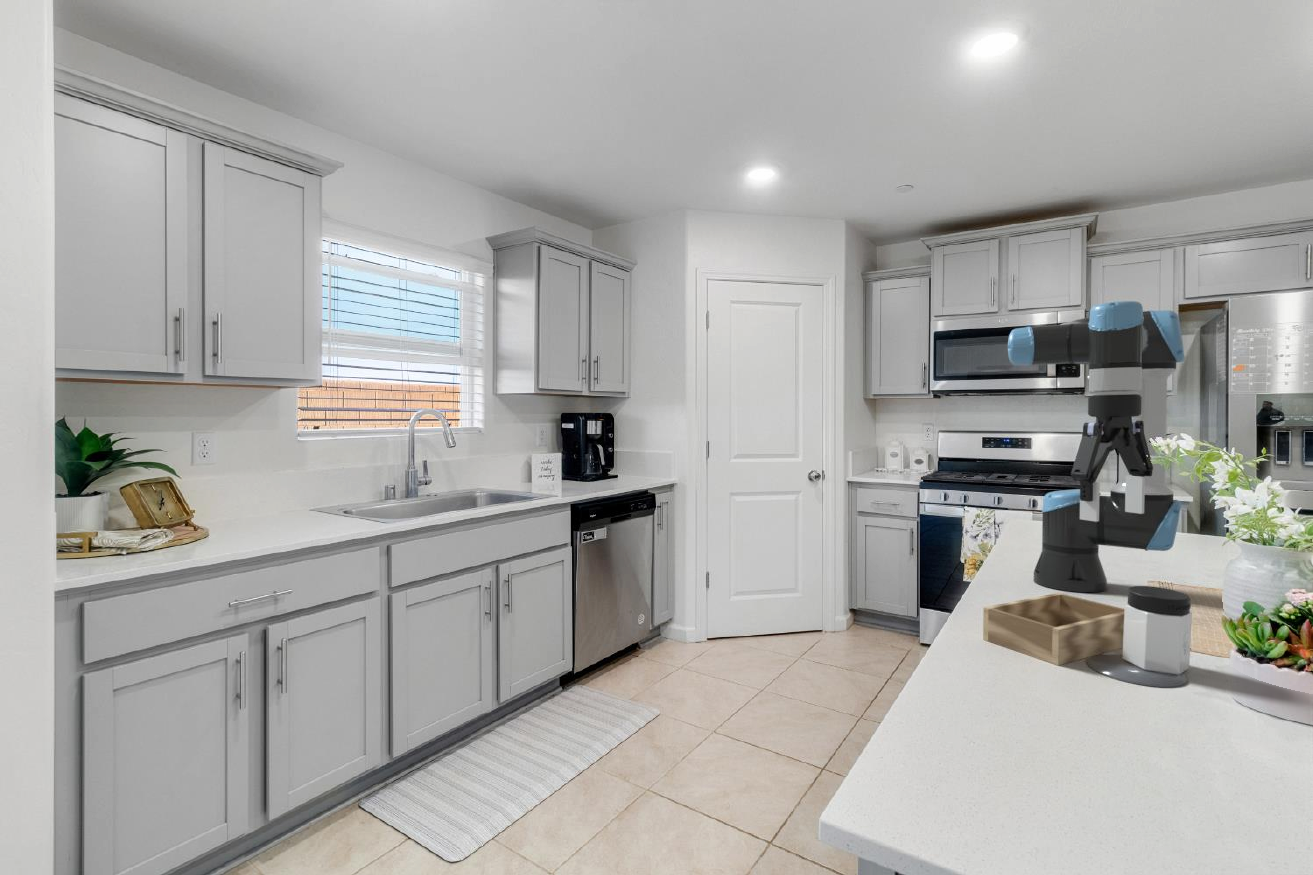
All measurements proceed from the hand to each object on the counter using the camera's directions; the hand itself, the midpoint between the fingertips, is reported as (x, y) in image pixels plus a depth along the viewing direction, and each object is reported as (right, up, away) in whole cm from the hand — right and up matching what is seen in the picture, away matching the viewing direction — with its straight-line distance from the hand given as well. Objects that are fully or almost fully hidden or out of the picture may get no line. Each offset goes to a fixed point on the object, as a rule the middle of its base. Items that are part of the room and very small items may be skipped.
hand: (1112, 516), depth 113 cm
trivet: (-1, -24, -7) cm, 25 cm away
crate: (-6, -24, +6) cm, 25 cm away
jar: (+3, -24, -5) cm, 25 cm away
